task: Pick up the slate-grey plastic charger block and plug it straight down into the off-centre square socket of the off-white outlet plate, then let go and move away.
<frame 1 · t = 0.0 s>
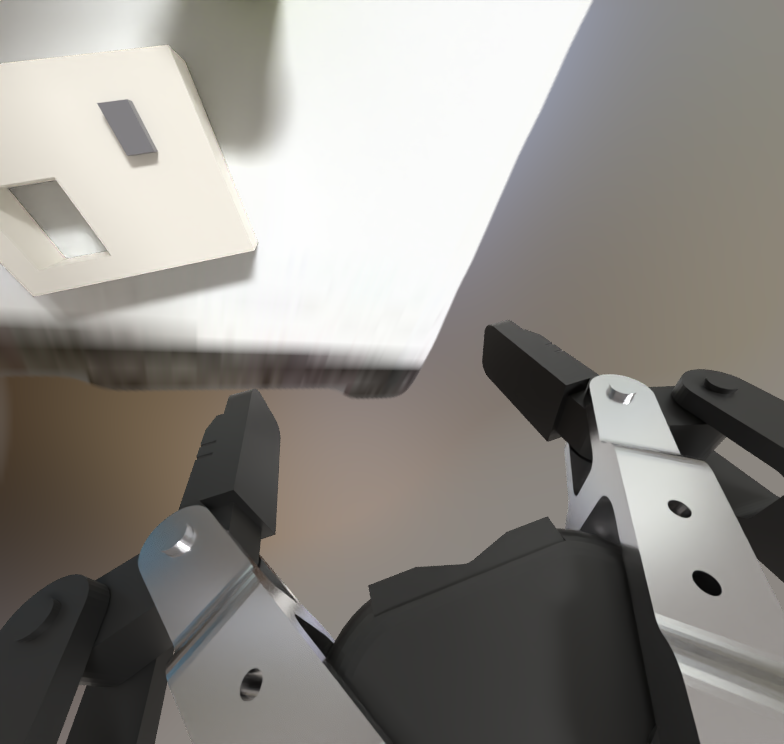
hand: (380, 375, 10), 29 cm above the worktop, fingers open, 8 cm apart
outlet plate: (116, 184, 26), on the worktop
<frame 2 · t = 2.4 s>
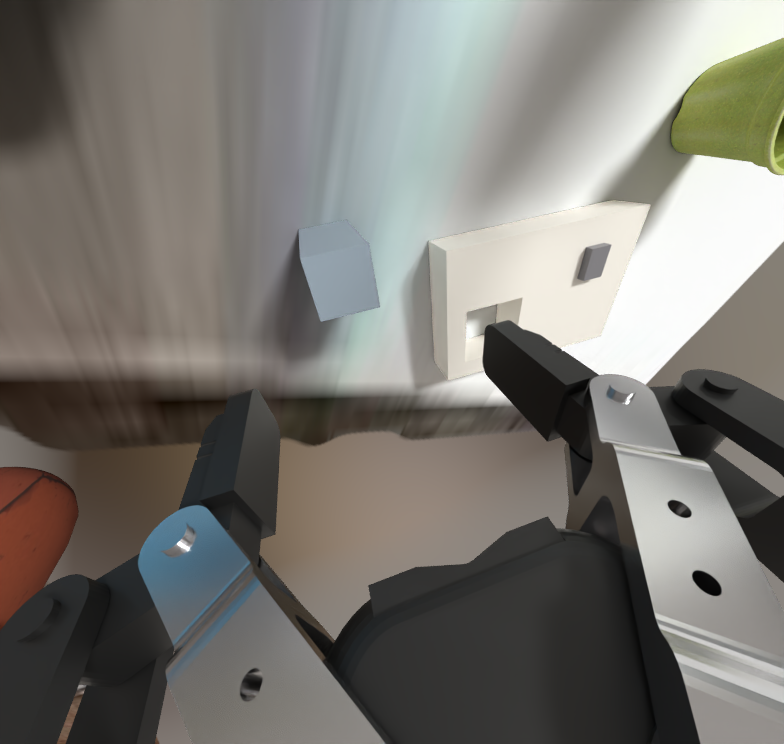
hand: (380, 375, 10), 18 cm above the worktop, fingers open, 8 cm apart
plant pot: (697, 110, 26), on the worktop
outlet plate: (514, 288, 32), on the worktop
charger: (329, 250, 24), on the worktop
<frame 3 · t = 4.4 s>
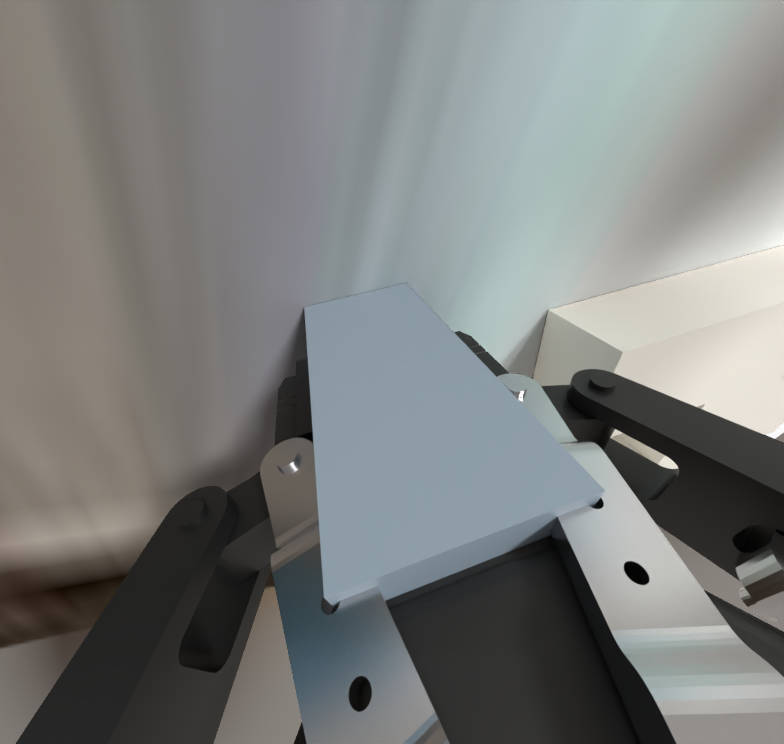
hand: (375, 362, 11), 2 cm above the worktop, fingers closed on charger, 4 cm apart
outlet plate: (654, 367, 19), on the worktop
charger: (366, 339, 12), on the worktop, touching gripper
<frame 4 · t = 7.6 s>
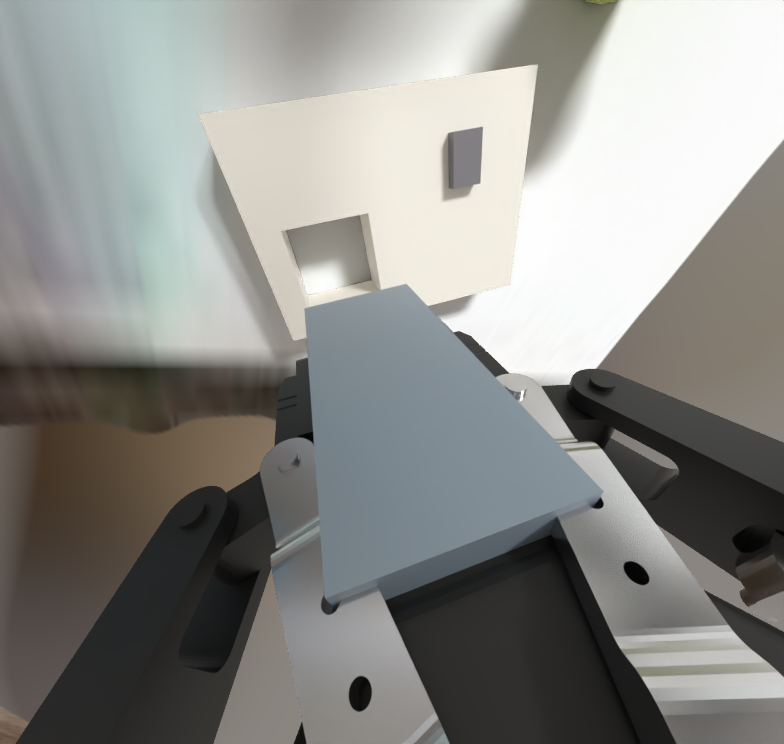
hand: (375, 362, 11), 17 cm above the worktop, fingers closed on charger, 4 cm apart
outlet plate: (383, 215, 23), on the worktop
charger: (366, 340, 12), point 15 cm above the worktop, touching gripper
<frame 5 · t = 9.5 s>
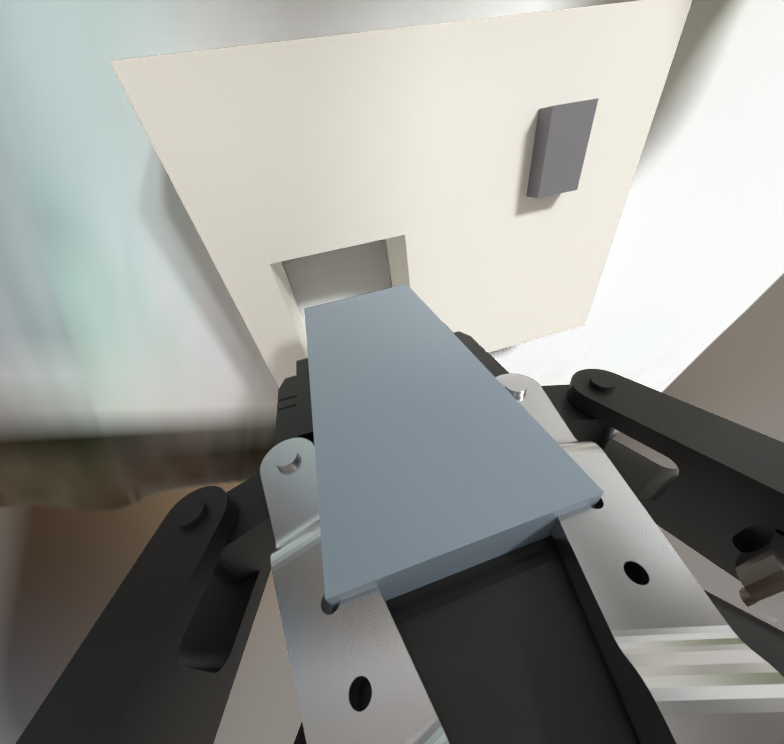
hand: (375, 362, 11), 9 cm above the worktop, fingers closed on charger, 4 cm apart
outlet plate: (418, 232, 17), on the worktop
charger: (366, 340, 12), point 7 cm above the worktop, touching gripper
when the fingers open (5 cm above the worktop, at t = 10.9 s): charger drops 3 cm, resting in outlet plate.
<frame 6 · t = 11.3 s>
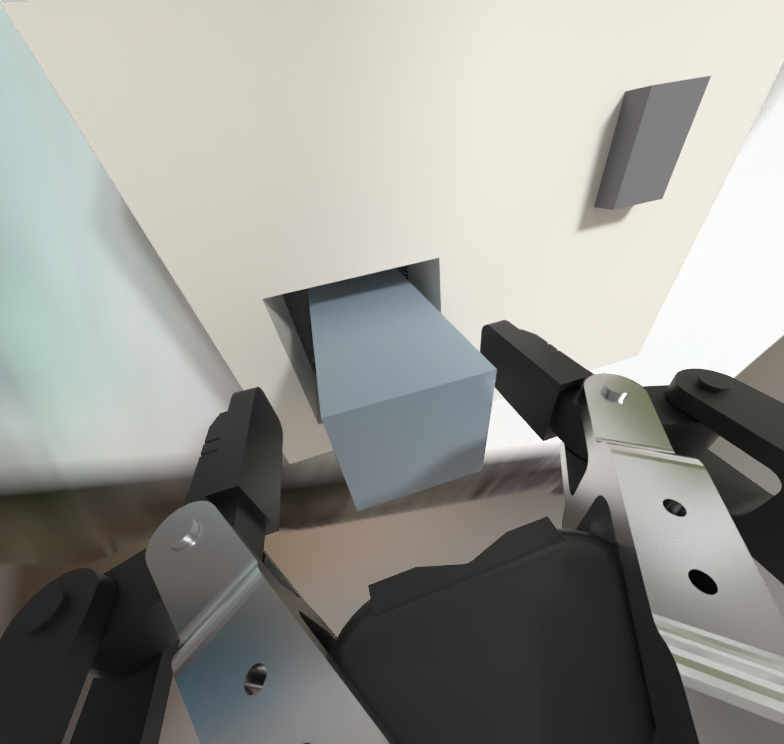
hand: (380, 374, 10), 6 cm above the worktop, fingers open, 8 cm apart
outlet plate: (445, 248, 14), on the worktop
charger: (357, 310, 14), resting in outlet plate
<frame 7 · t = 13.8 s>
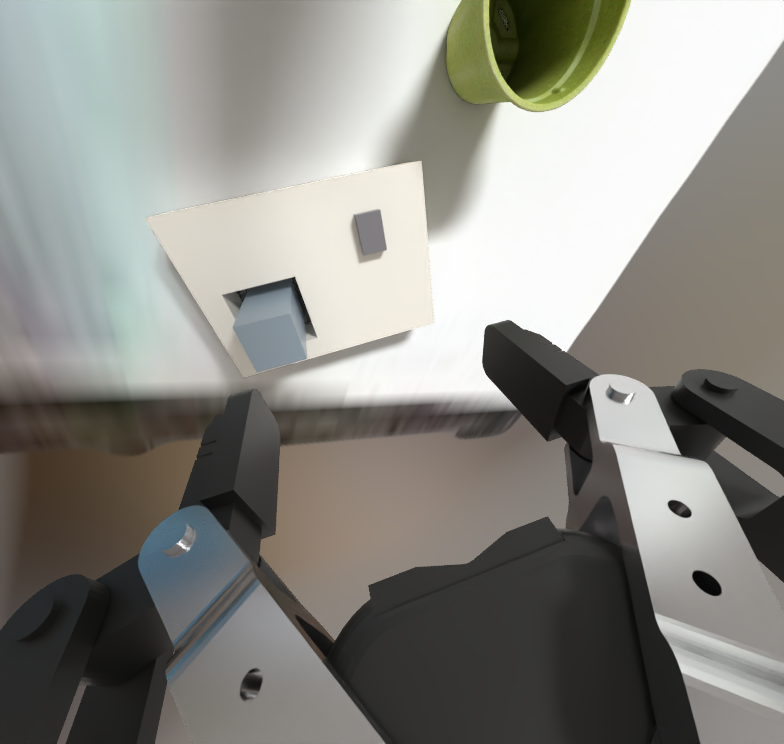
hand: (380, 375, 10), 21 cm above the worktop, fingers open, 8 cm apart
plant pot: (478, 51, 22), on the worktop
outlet plate: (318, 270, 28), on the worktop
charger: (278, 302, 28), resting in outlet plate
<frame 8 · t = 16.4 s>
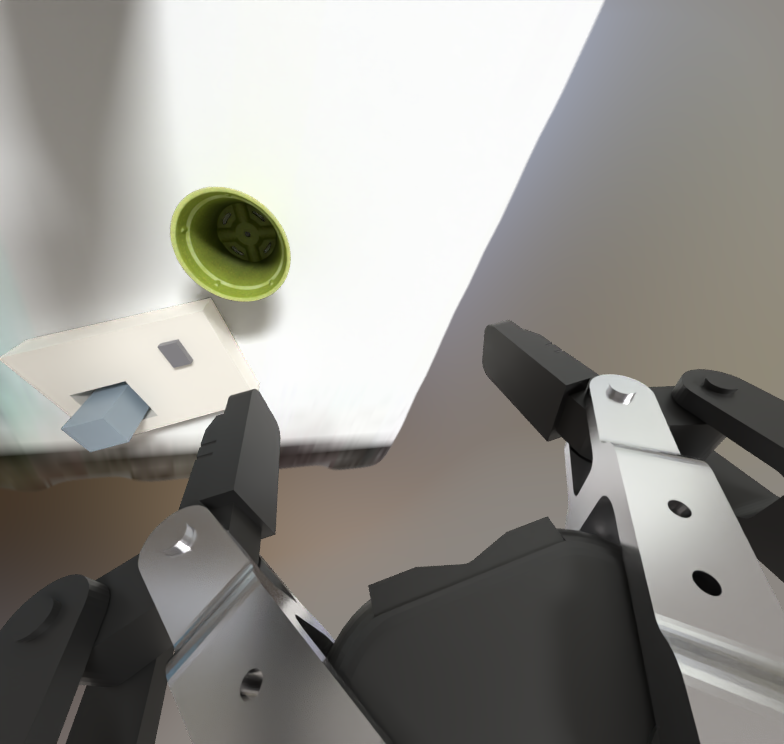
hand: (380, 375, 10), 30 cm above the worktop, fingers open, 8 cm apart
plant pot: (247, 232, 32), on the worktop
outlet plate: (160, 364, 37), on the worktop
charger: (132, 386, 38), resting in outlet plate
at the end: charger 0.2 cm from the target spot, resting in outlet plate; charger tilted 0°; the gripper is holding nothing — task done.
